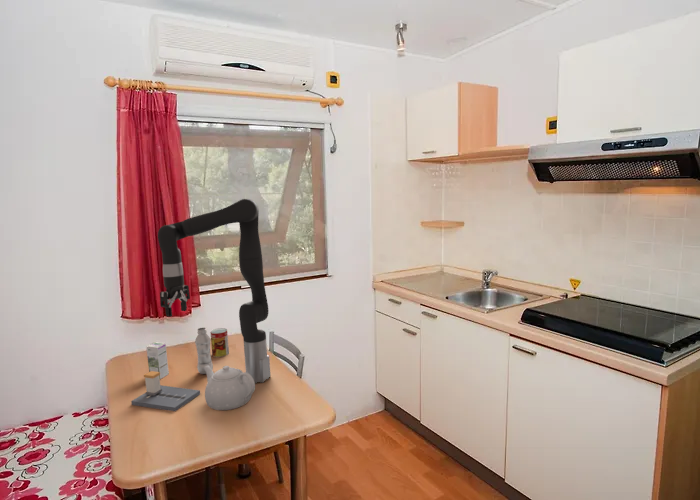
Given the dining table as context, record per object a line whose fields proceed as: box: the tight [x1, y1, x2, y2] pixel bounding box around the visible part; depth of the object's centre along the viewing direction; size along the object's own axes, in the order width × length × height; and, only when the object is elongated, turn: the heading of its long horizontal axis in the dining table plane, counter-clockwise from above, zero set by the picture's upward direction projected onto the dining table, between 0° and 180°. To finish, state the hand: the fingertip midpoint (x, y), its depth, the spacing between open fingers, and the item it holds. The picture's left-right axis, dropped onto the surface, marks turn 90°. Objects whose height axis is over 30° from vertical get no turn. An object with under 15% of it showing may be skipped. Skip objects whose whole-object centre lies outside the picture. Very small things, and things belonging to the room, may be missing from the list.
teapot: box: [203, 365, 256, 411], centre depth 159 cm, size 19×18×14 cm
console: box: [130, 384, 201, 412], centre depth 163 cm, size 20×14×2 cm
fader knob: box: [143, 371, 162, 396], centre depth 164 cm, size 4×4×8 cm
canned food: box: [209, 327, 230, 358], centre depth 208 cm, size 8×8×12 cm
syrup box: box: [145, 341, 170, 380], centre depth 184 cm, size 6×6×14 cm
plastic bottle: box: [194, 327, 214, 375], centre depth 186 cm, size 6×7×20 cm
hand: (176, 313), depth 173 cm, fingers open, 8 cm apart
